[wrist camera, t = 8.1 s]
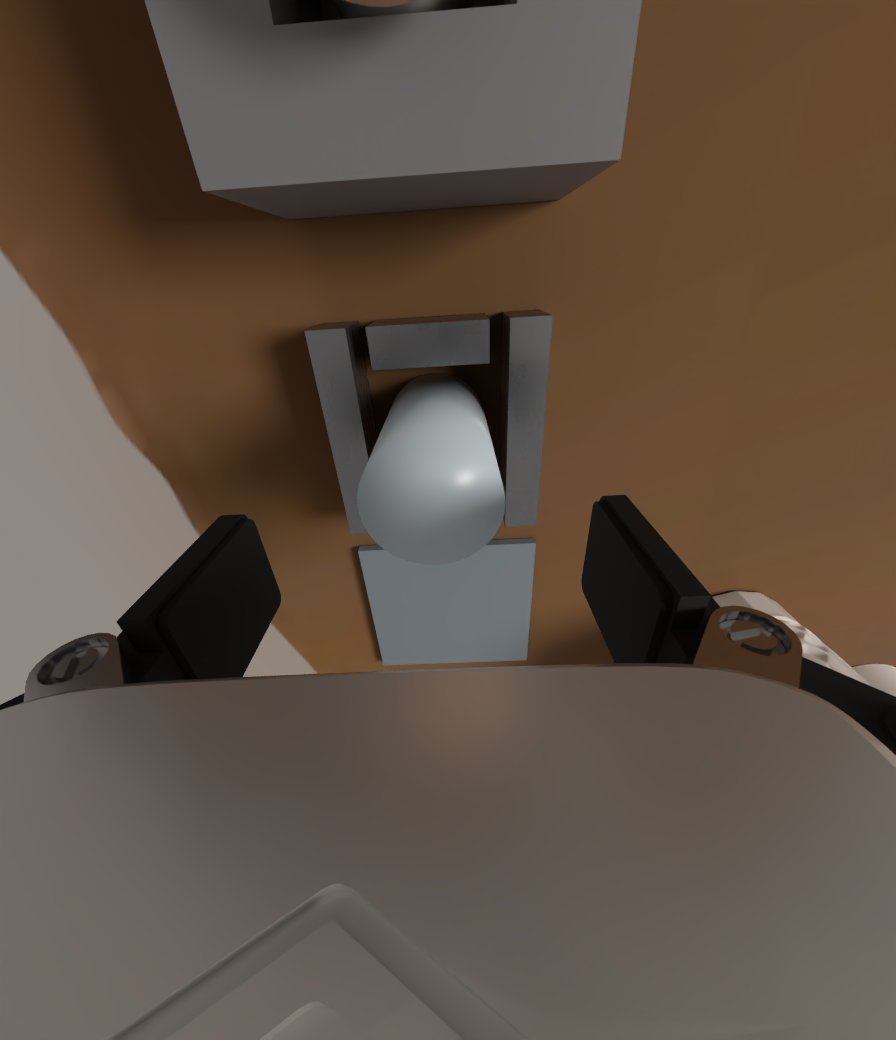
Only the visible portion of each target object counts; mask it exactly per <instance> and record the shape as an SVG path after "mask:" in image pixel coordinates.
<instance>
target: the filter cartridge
mask: <svg viewBox="0 0 896 1040" xmlns="http://www.w3.org/2000/svg"><path fill="white" fill-rule="evenodd" d="M357 506H358V512H359V515H360V519H361V521H362V523H363V525H364V527H365V529H366V531H367V532H368V534H369V535H370V536H371V537H372V539H373V540H374V541H375V542H376V543H377V544H378V545H379V546H381V547H382V548H383V549H385V550H386V551H387V552H389V553H391V554H392V555H394V556H396V557H399V558H401V559H403V560H406V561H409V562H413V563H418V564H426V565H440V564H448V563H453V562H456V561H459V560H462V559H465V558H467V557H469V556H471V555H473V554H475V553H476V552H478V551H479V550H480V549H482V548H483V547H484V546H485V545H486V544H487V543H488V542H489V541H490V540H491V539H492V538H493V537H494V535H495V534H496V532H497V530H498V529H499V527H500V525H501V522H502V520H503V516H504V512H505V493H504V488H503V484H502V480H501V476H500V472H499V468H498V464H497V460H496V456H495V452H494V448H493V444H492V440H491V436H490V433H489V429H488V425H487V421H486V417H485V413H484V409H483V406H482V403H481V401H480V399H479V397H478V395H477V394H476V392H475V391H474V390H473V389H472V388H471V386H469V385H468V384H467V383H466V382H464V381H463V380H461V379H460V378H457V377H455V376H452V375H449V374H444V373H430V374H425V375H421V376H419V377H417V378H415V379H413V380H411V381H410V382H408V383H407V384H406V385H405V386H404V387H403V388H402V389H401V390H400V391H399V393H398V394H397V396H396V398H395V400H394V402H393V404H392V407H391V409H390V411H389V414H388V416H387V418H386V421H385V423H384V425H383V428H382V430H381V432H380V435H379V437H378V439H377V442H376V444H375V446H374V449H373V451H372V453H371V456H370V458H369V460H368V463H367V465H366V467H365V470H364V472H363V474H362V477H361V480H360V483H359V486H358V492H357Z"/></svg>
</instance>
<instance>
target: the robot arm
mask: <svg viewBox="0 0 896 1040" xmlns="http://www.w3.org/2000/svg"><path fill="white" fill-rule="evenodd" d="M582 589H583V592H584V595H585V597H586V599H587V602H588V604H589V606H590V608H591V611H592V613H593V615H594V617H595V620H596V622H597V624H598V626H599V629H600V631H601V633H602V635H603V638H604V640H605V642H606V644H607V647H608V649H609V651H610V653H611V656H612V658H613V660H614V662H615V663H604V664H568V665H537V666H508V667H479V668H450V669H424V670H399V671H374V672H349V673H324V674H304V675H280V676H261V677H243V675H244V673H245V671H246V669H247V667H248V665H249V663H250V661H251V659H252V657H253V655H254V654H255V652H256V650H257V648H258V646H259V644H260V642H261V640H262V638H263V636H264V634H265V633H266V631H267V629H268V627H269V625H270V623H271V621H272V619H273V617H274V615H275V613H276V611H277V610H278V608H279V605H280V602H281V594H280V591H279V588H278V585H277V582H276V580H275V577H274V574H273V571H272V569H271V566H270V563H269V560H268V558H267V555H266V552H265V549H264V547H263V544H262V541H261V538H260V536H259V533H258V530H257V527H256V525H255V523H254V521H253V520H251V519H248V518H247V517H246V516H245V515H243V514H242V515H223V516H220V517H219V518H218V519H217V520H216V521H215V522H214V523H213V524H212V525H211V526H210V527H209V528H208V529H207V530H206V531H205V532H204V533H203V534H202V535H201V536H200V537H199V538H198V539H197V540H196V541H195V542H194V543H193V544H192V545H191V546H190V547H189V548H188V549H187V550H186V551H185V552H184V553H183V554H182V556H180V557H179V558H178V560H177V561H176V562H175V563H174V564H173V565H172V566H171V567H170V568H169V569H168V570H167V571H166V572H165V573H164V574H163V575H162V576H161V577H160V578H159V579H158V580H157V581H156V582H155V583H154V584H153V585H152V586H151V587H150V588H149V589H148V590H147V591H146V592H145V593H144V594H143V595H142V596H141V597H140V598H139V599H138V600H137V601H136V602H135V603H134V604H133V605H132V606H131V607H130V608H129V610H127V612H126V613H125V614H124V615H123V616H122V617H121V618H120V619H119V620H118V621H117V623H118V625H119V626H120V628H121V629H122V632H121V633H120V634H119V636H118V637H117V638H116V636H114V635H111V634H109V633H96V634H91V635H87V636H84V637H81V638H78V639H75V640H73V641H71V642H69V643H67V644H64V645H62V646H61V647H59V648H57V649H56V650H54V651H53V652H51V653H50V654H48V655H47V656H46V657H44V658H43V659H42V660H41V661H40V662H39V663H38V664H36V666H35V667H34V668H33V669H32V671H31V672H30V673H29V676H28V678H27V680H26V686H25V693H24V694H22V695H20V696H18V697H16V698H13V699H12V700H10V701H7V702H5V703H3V704H1V705H0V1040H896V697H895V696H893V695H890V694H888V693H886V692H883V691H881V690H879V689H876V688H874V687H872V686H870V685H867V684H865V683H863V682H860V681H858V680H856V679H853V678H851V677H849V676H846V675H844V674H842V673H839V672H837V671H835V670H832V669H830V668H828V667H825V666H823V665H821V664H818V663H816V662H814V661H811V660H809V659H807V658H804V657H802V653H803V649H802V644H801V641H800V640H799V638H798V637H797V635H796V634H795V632H794V631H792V630H791V629H790V628H789V627H788V626H787V625H786V624H784V623H783V622H781V621H780V620H778V619H776V618H775V617H773V616H771V615H769V614H766V613H764V612H762V611H759V610H756V609H752V608H748V607H743V606H724V607H720V606H719V605H718V604H717V602H716V601H715V600H714V599H713V598H712V596H711V595H710V594H709V592H708V591H707V590H706V589H705V588H704V587H703V585H702V584H701V583H700V582H699V581H698V580H697V578H696V577H695V576H694V575H693V574H692V572H691V571H690V570H689V569H688V568H687V567H686V565H685V564H684V563H683V562H682V561H681V560H680V558H679V557H678V556H677V555H676V554H675V553H674V551H673V550H672V549H671V548H670V547H669V545H668V544H667V543H666V542H665V541H664V540H663V538H662V537H661V536H660V535H659V534H658V533H657V531H656V530H655V529H654V528H653V527H652V525H651V524H650V523H649V522H648V521H647V520H646V518H645V517H644V516H643V515H642V514H641V513H640V511H639V510H638V509H637V508H636V507H635V506H634V504H633V503H632V502H631V501H630V500H629V498H628V497H627V496H625V495H614V496H602V497H601V499H600V501H599V502H595V503H594V504H593V509H592V515H591V522H590V528H589V535H588V541H587V548H586V554H585V561H584V567H583V574H582Z"/></svg>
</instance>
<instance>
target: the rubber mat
mask: <svg viewBox="0 0 896 1040" xmlns="http://www.w3.org/2000/svg"><path fill="white" fill-rule="evenodd" d="M535 547H536V542H535V539H534V538H522V539H500V540H490V541H489V542H488V543H487V544H486V545H485V546H484V547H483V548H482V549H480V550H479V551H478V552H476V553H475V554H473V555H471V556H469V557H467V558H465V559H462V560H459V561H456V562H453V563H448V564H440V565H426V564H418V563H413V562H409V561H406V560H403V559H401V558H399V557H396V556H394V555H392V554H391V553H389V552H387V551H386V550H385V549H383V548H382V547H381V546H379V545H367V546H359V549H358V553H359V558H360V562H361V567H362V571H363V576H364V580H365V585H366V589H367V594H368V598H369V603H370V607H371V612H372V616H373V620H374V625H375V629H376V634H377V638H378V643H379V647H380V652H381V656H382V661H383V665H404V664H433V663H461V662H489V661H517V660H527V649H528V637H529V624H530V611H531V598H532V585H533V572H534V560H535Z"/></svg>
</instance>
